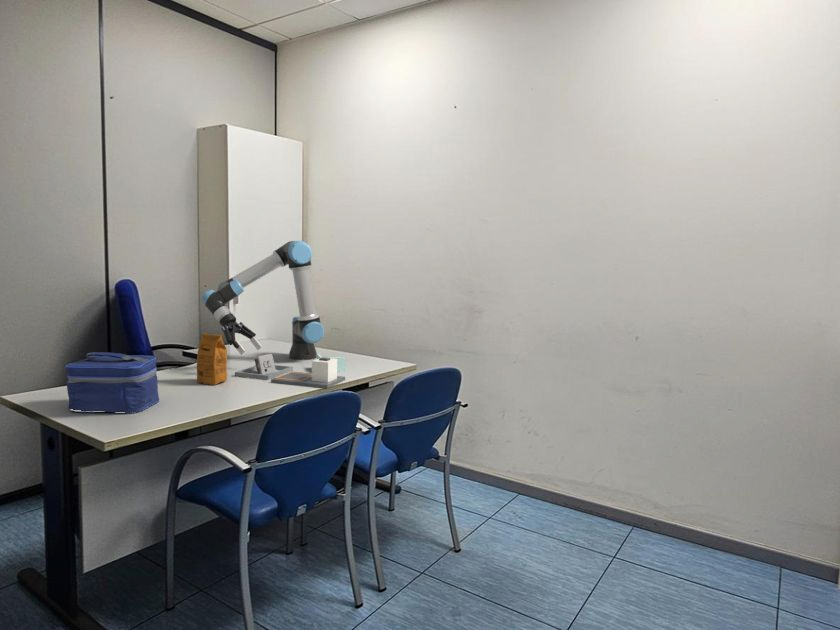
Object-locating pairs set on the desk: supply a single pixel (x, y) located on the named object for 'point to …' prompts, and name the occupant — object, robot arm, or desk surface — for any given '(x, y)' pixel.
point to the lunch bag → (112, 382)
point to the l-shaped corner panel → (339, 363)
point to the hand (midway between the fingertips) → (251, 350)
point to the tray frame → (260, 376)
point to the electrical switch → (265, 364)
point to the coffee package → (211, 360)
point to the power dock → (307, 381)
